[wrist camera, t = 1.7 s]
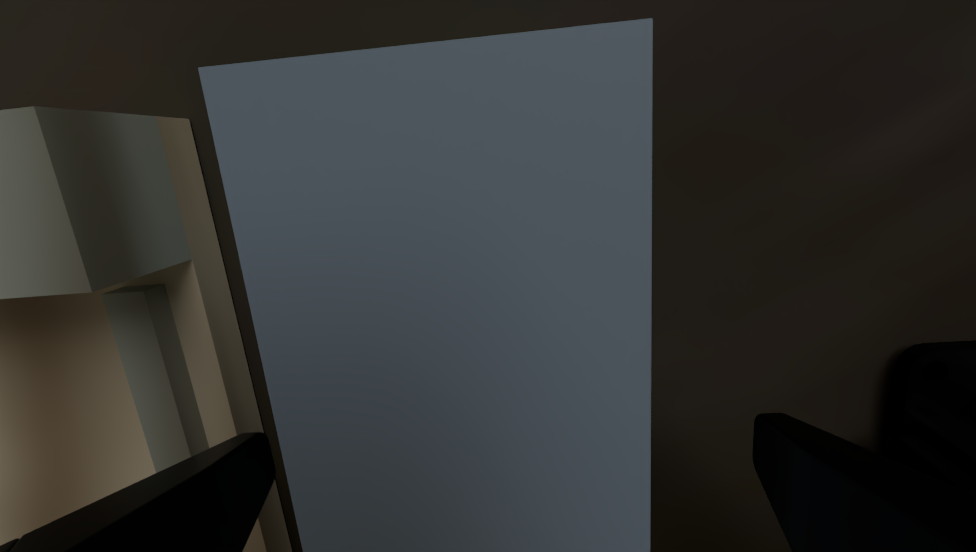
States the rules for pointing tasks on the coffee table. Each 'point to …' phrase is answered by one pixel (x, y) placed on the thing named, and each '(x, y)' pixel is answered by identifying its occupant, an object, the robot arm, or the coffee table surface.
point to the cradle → (111, 315)
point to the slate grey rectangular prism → (452, 285)
